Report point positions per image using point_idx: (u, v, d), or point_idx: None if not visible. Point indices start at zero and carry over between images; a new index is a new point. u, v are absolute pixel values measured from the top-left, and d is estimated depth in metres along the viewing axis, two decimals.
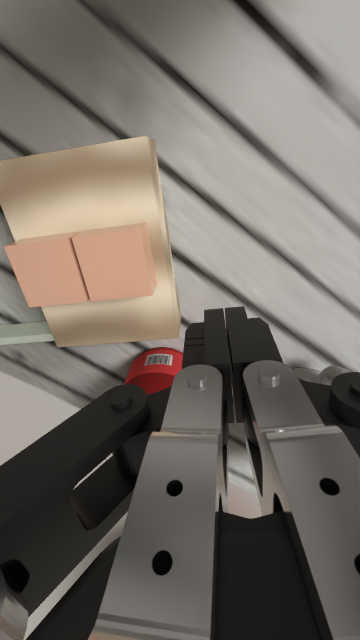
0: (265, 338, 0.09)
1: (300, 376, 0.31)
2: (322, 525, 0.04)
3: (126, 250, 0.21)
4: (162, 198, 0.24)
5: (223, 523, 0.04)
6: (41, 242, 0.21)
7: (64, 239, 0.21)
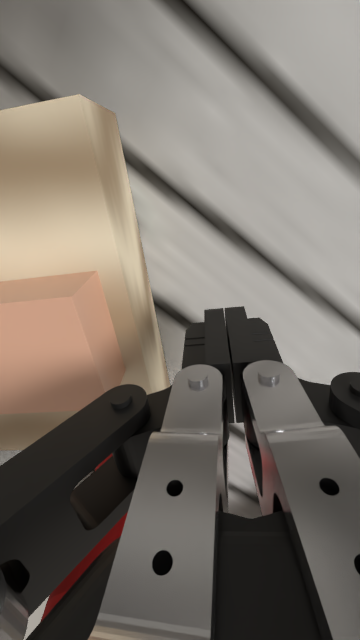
0: (265, 338, 0.09)
1: None
2: (322, 525, 0.04)
3: (50, 334, 0.10)
4: (134, 219, 0.14)
5: (223, 523, 0.04)
6: None
7: None
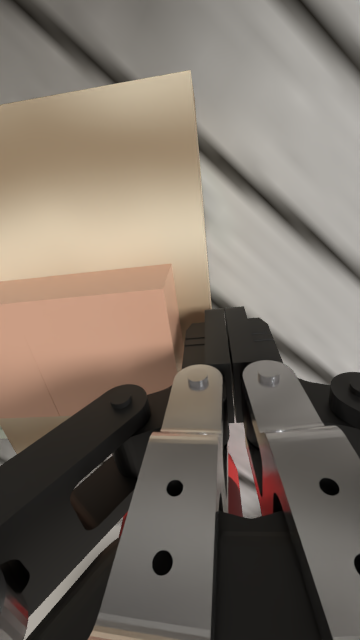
0: (265, 338, 0.09)
1: None
2: (322, 525, 0.04)
3: (131, 330, 0.09)
4: (203, 211, 0.13)
5: (223, 523, 0.04)
6: None
7: (3, 305, 0.09)
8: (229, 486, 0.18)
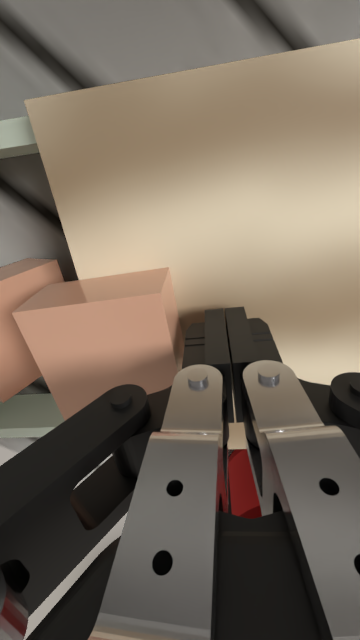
0: (265, 338, 0.09)
1: None
2: (322, 525, 0.04)
3: (131, 334, 0.09)
4: None
5: (223, 523, 0.04)
6: None
7: None
8: None
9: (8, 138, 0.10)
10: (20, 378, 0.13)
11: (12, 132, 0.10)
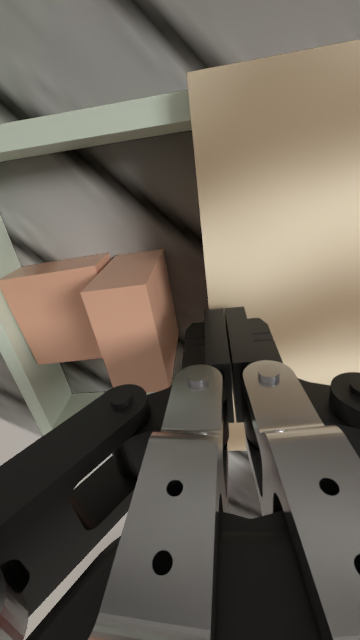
0: (265, 338, 0.09)
1: None
2: (322, 525, 0.04)
3: None
4: None
5: (223, 523, 0.04)
6: None
7: (29, 265, 0.16)
8: None
9: (146, 117, 0.10)
10: (52, 354, 0.16)
11: (152, 110, 0.09)
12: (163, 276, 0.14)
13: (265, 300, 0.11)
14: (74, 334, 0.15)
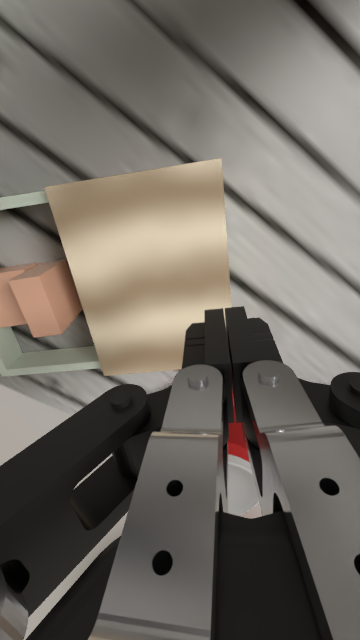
0: (265, 338, 0.09)
1: None
2: (322, 525, 0.04)
3: None
4: None
5: (223, 523, 0.04)
6: None
7: None
8: None
9: (34, 200, 0.21)
10: (3, 321, 0.27)
11: (37, 197, 0.21)
12: (63, 274, 0.25)
13: (102, 284, 0.23)
14: (15, 308, 0.26)
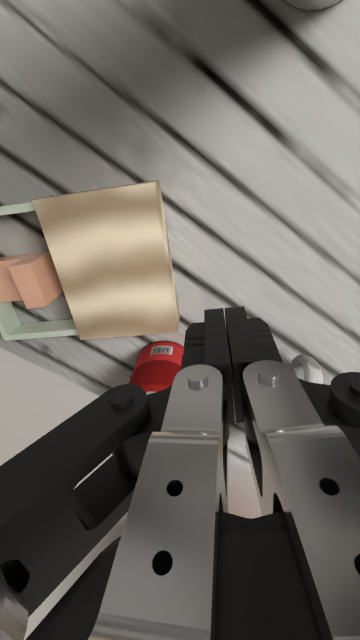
0: (265, 338, 0.09)
1: None
2: (322, 525, 0.04)
3: None
4: (165, 223, 0.32)
5: (223, 523, 0.04)
6: (9, 256, 0.35)
7: None
8: None
9: (26, 208, 0.29)
10: (4, 297, 0.35)
11: (27, 207, 0.29)
12: (49, 262, 0.34)
13: (76, 270, 0.31)
14: (13, 288, 0.35)
